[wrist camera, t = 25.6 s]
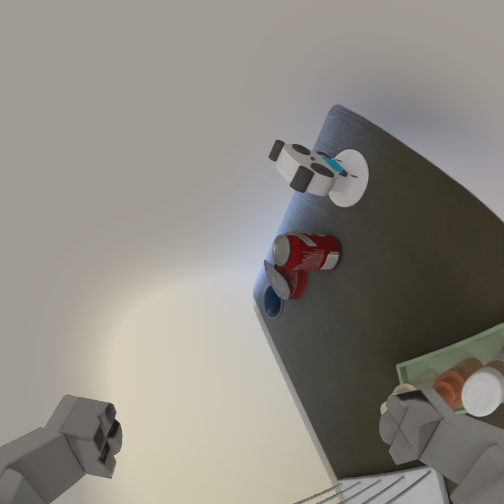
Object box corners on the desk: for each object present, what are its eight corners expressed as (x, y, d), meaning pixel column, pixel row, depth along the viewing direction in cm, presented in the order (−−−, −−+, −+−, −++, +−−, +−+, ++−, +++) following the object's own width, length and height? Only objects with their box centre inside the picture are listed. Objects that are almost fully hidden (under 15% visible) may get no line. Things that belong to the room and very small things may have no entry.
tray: (532, 307, 24) (530, 308, 23) (548, 382, 20) (546, 387, 19) (402, 362, 42) (395, 364, 41) (415, 419, 38) (408, 424, 37)
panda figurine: (380, 171, 48) (313, 150, 41) (349, 221, 55) (282, 212, 48) (345, 140, 56) (281, 119, 49) (320, 185, 63) (258, 173, 56)
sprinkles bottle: (497, 378, 27) (458, 417, 20) (497, 344, 28) (459, 373, 22) (527, 375, 23) (499, 417, 17) (527, 339, 24) (502, 370, 18)
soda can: (347, 256, 55) (295, 253, 50) (328, 276, 60) (277, 277, 54) (333, 228, 59) (282, 223, 54) (316, 250, 64) (266, 247, 58)
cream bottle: (450, 389, 33) (410, 416, 28) (428, 407, 36) (384, 434, 31) (432, 364, 37) (389, 384, 31) (412, 383, 39) (367, 404, 34)
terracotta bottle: (491, 376, 28) (460, 406, 22) (466, 398, 30) (429, 429, 25) (472, 350, 31) (436, 371, 26) (449, 372, 34) (408, 396, 29)
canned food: (324, 278, 68) (301, 297, 61) (297, 298, 75) (273, 316, 68) (294, 239, 70) (268, 252, 63) (270, 261, 77) (244, 276, 70)
